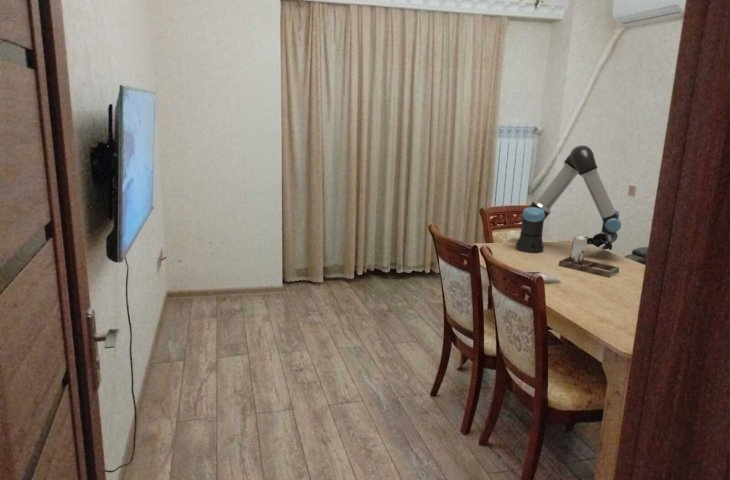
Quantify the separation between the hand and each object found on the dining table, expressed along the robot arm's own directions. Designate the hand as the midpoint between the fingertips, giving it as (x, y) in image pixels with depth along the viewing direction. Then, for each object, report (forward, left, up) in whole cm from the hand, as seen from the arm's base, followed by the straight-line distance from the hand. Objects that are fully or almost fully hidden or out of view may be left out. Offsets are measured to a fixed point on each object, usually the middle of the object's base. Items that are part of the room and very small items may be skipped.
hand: (586, 246), depth 267 cm
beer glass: (0, -10, -9) cm, 13 cm away
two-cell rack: (+6, -10, -9) cm, 15 cm away
